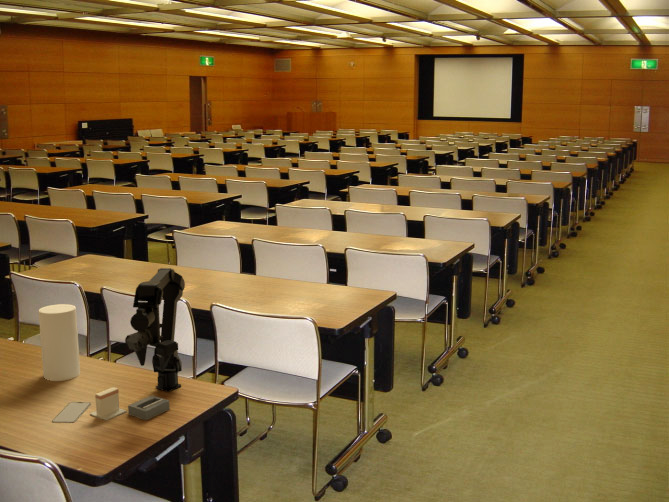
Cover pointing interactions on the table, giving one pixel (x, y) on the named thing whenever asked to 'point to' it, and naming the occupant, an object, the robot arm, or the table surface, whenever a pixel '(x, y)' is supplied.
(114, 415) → the mat
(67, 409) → the smartphone
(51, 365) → the cylinder
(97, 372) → the table surface
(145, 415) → the dispenser
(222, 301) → the table surface
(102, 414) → the cream rectangular block
